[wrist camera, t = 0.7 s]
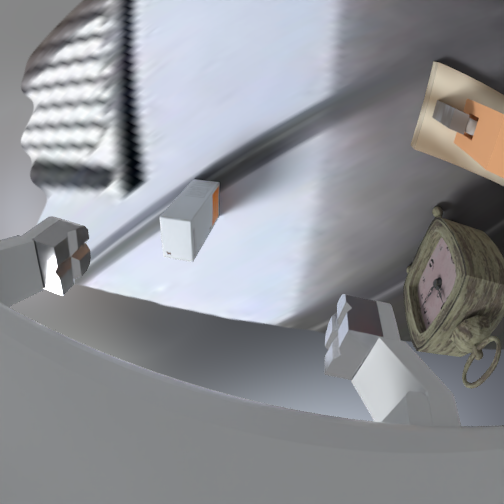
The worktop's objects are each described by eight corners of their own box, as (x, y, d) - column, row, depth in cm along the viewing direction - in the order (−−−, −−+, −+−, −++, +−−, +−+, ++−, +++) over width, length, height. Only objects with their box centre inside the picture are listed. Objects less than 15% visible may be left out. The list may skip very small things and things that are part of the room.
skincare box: (220, 217, 49) (193, 264, 39) (193, 213, 50) (162, 258, 40) (220, 180, 46) (191, 221, 36) (193, 177, 46) (157, 216, 36)
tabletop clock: (430, 194, 40) (499, 326, 20) (478, 210, 39) (554, 335, 19) (396, 273, 48) (419, 413, 28) (441, 283, 48) (477, 414, 28)
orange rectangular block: (453, 142, 31) (485, 169, 24) (466, 98, 28) (504, 114, 20) (472, 150, 31) (506, 180, 24) (486, 107, 28) (525, 127, 20)
